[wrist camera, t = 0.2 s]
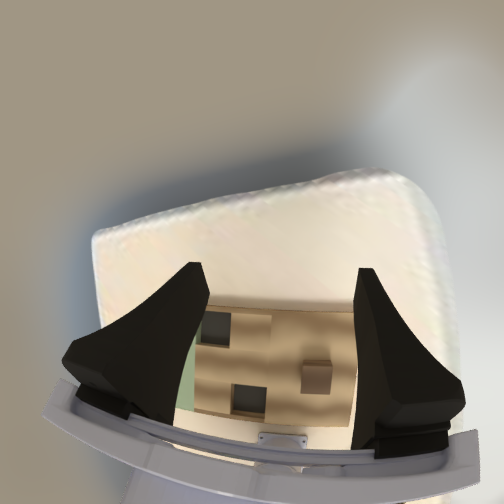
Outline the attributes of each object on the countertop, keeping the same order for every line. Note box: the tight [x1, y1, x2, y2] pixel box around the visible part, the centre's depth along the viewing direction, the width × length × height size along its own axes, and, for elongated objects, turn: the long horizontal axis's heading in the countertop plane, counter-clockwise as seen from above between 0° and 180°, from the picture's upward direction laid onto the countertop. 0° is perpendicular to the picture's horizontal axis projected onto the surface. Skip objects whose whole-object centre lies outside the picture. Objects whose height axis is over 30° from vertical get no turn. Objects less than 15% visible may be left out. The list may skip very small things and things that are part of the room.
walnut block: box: [300, 360, 333, 395], centre depth 36 cm, size 4×4×4 cm
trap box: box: [175, 305, 358, 427], centre depth 40 cm, size 18×30×5 cm, turn 87°
